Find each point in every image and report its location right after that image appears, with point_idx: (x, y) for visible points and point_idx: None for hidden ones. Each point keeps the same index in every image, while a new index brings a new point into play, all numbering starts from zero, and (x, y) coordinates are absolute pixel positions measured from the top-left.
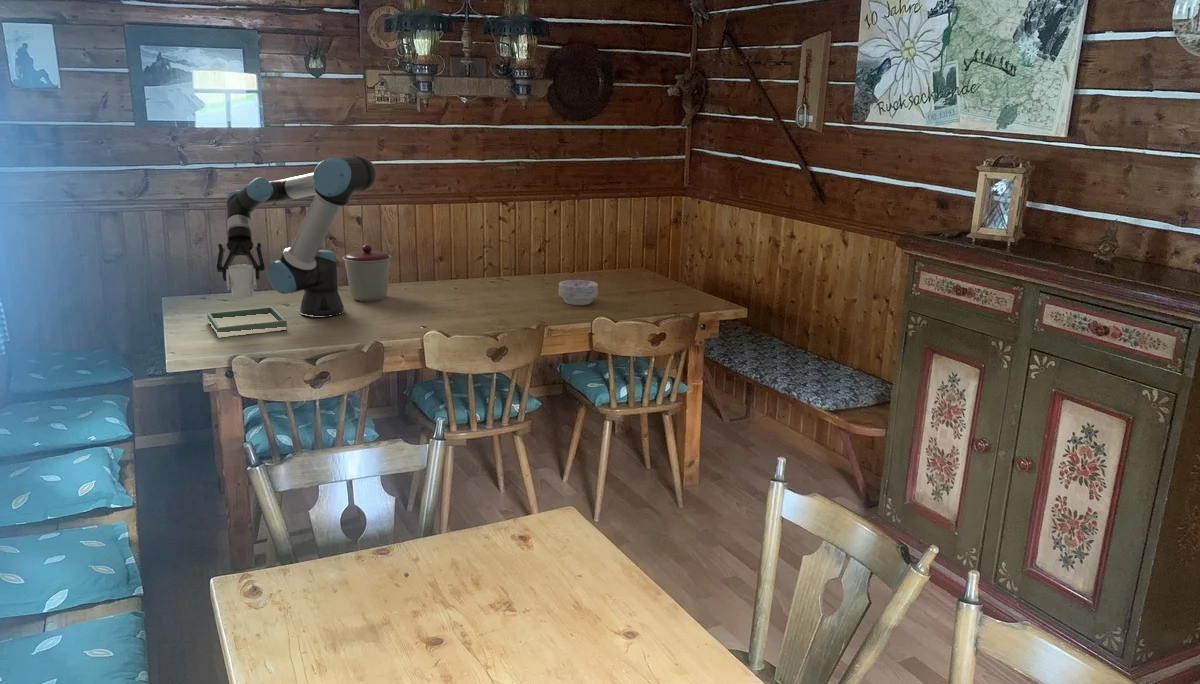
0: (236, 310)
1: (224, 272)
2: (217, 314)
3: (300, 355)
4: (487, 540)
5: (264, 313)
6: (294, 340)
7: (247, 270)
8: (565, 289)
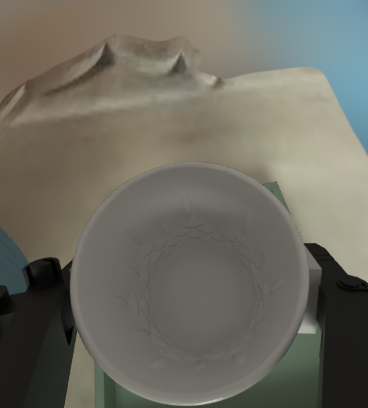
0: None
1: (329, 272)
2: None
3: (115, 79)
4: None
5: None
6: (107, 155)
7: (137, 188)
8: None
